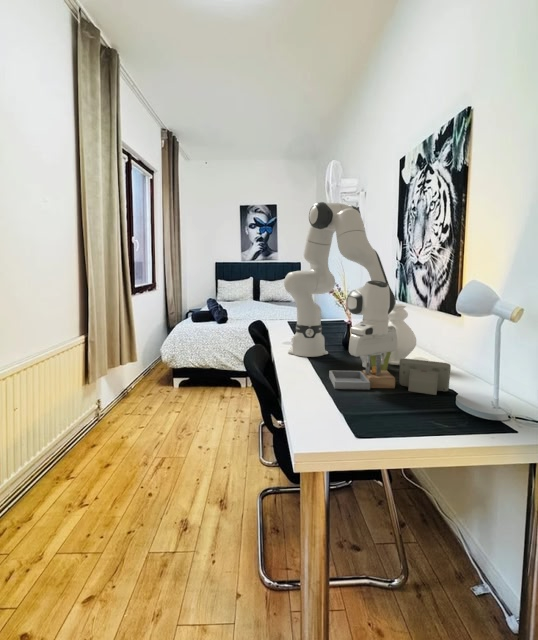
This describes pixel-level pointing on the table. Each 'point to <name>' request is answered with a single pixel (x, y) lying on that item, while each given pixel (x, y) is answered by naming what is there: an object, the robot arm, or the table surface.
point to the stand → (380, 379)
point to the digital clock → (424, 375)
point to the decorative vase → (401, 334)
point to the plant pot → (386, 360)
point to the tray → (349, 380)
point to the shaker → (378, 363)
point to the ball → (374, 369)
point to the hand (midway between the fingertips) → (372, 365)
